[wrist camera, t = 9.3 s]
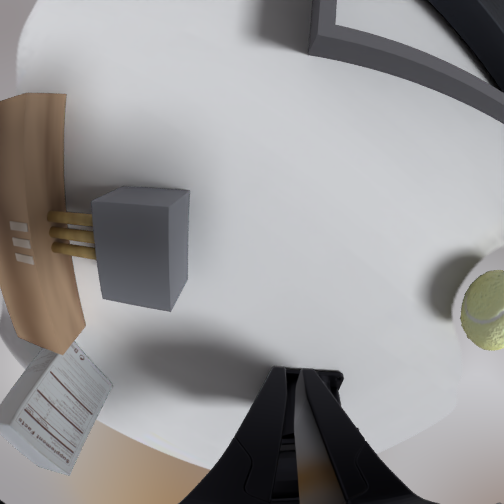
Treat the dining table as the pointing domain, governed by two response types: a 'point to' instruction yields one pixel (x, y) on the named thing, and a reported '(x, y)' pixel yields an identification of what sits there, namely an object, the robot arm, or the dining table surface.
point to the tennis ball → (485, 311)
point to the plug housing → (142, 245)
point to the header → (39, 223)
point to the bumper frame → (398, 61)
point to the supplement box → (54, 408)
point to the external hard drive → (479, 30)
